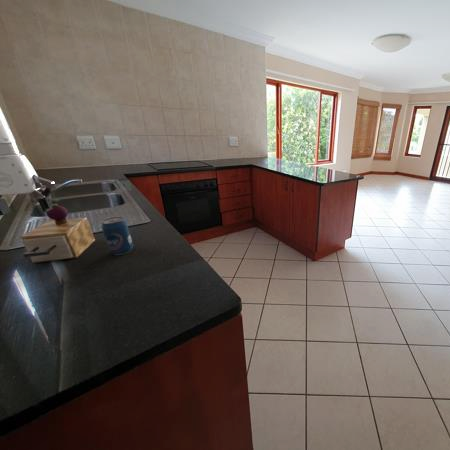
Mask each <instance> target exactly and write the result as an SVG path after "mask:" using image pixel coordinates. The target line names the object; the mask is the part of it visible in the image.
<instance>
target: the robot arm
mask: <svg viewBox="0 0 450 450" xmlns="http://www.w3.org/2000/svg"><path fill="white" fill-rule="evenodd" d="M43 185H44V186H45V188H43ZM54 189H55V181H53V180H50V179H47V178H43V177H40V176H39V175H38V173H37V172H36V170H35V168H34V166H33V164H31V162H30V161H29V159H28V158H27V156H26V155H25V154H22V153H21V150H20V148H19V146H18V144H17V142H16V138H15V137H14V134H13V133H12V130H11V128H10V125H9V123H8V121H7V118H6V117H5V115H4V112H3V110H2V108H1V107H0V216H5V215H7V214H10V213H11V212H12V209H11V208H10V206H9V204H8V202H7V200H6V199H5V198H3V196H15V195H27V194H32V195H34V196H36V197H38V199H37V202H38V204H39V207H40V208H41V211H42V212H43V213H47V212H48V211H50V210H52V209H53V208H52V204H53V203H52V201H51V199H50V197H51V194H52V193H53V192H54Z"/></svg>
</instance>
